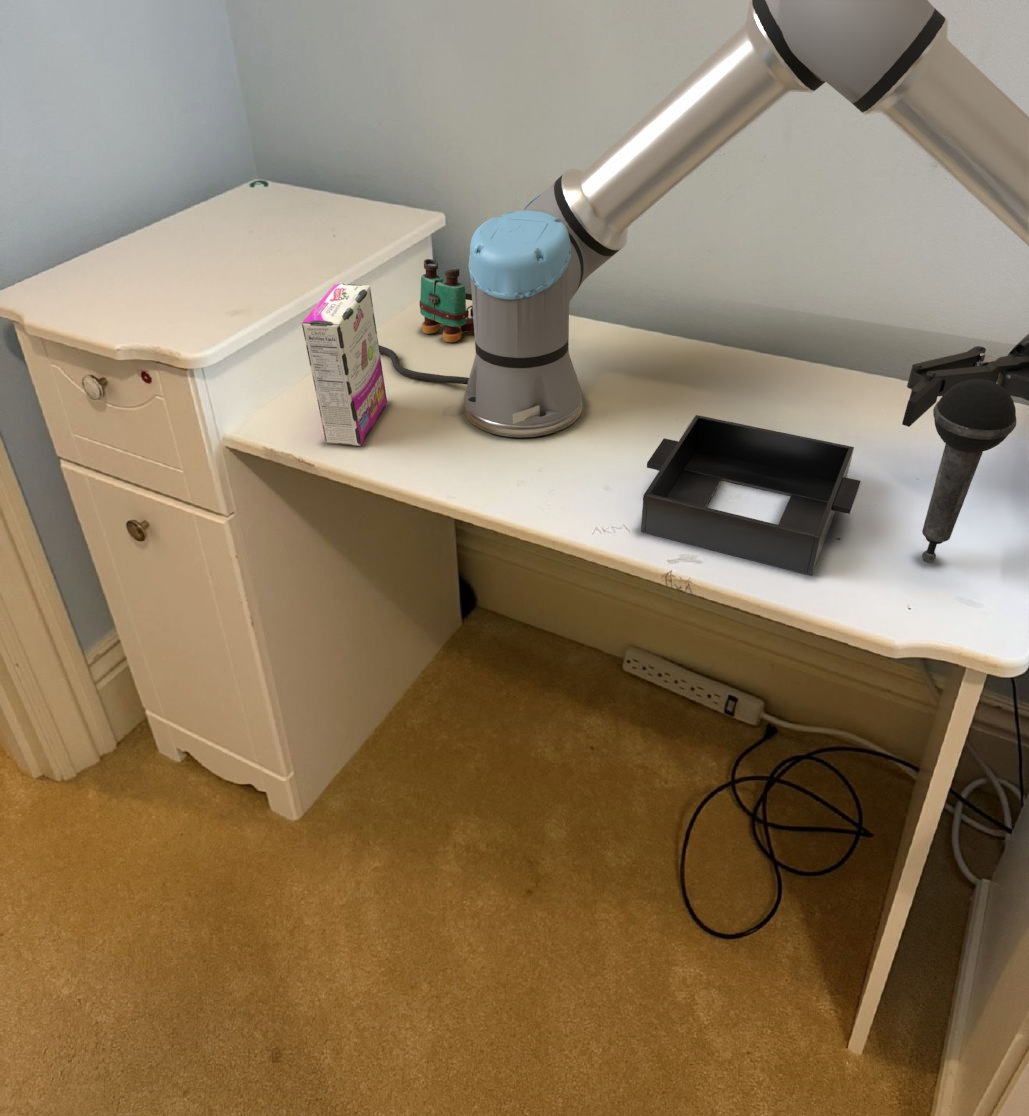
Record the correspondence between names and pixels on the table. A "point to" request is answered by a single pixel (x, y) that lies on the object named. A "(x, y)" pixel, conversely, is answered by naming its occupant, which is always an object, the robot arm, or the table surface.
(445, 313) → the binoculars
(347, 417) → the candy bar box
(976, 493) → the table surface
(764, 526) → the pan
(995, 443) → the microphone
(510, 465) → the table surface
